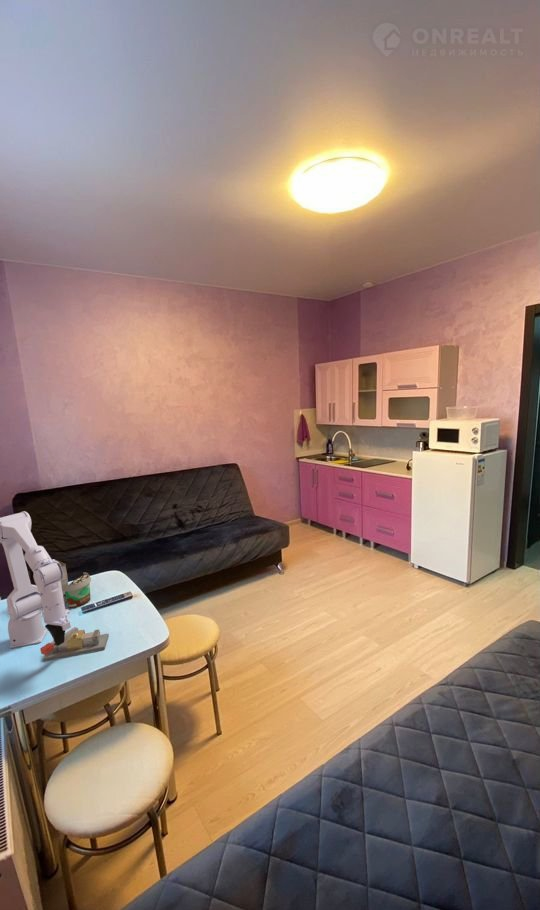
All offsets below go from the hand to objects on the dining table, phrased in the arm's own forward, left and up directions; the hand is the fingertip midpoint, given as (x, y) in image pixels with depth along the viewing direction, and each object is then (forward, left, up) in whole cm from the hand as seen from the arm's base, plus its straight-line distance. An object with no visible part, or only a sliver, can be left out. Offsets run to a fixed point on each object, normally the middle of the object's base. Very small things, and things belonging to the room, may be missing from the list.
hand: (60, 643), depth 118 cm
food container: (-2, +37, -6) cm, 37 cm away
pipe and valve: (+3, +6, -6) cm, 9 cm away
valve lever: (0, +2, -1) cm, 2 cm away
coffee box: (-13, +42, -6) cm, 44 cm away
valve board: (+3, +6, -6) cm, 9 cm away
